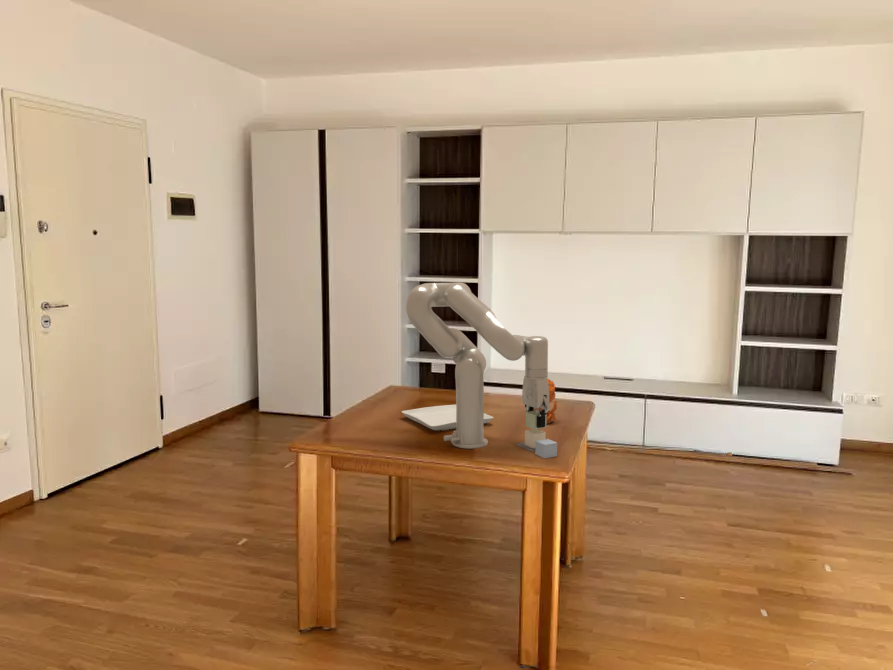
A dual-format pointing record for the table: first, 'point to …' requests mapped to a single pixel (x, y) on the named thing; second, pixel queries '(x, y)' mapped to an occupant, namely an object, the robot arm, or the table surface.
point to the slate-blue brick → (546, 448)
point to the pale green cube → (533, 419)
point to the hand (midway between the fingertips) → (536, 424)
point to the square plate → (437, 417)
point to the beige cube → (533, 437)
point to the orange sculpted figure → (551, 397)
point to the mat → (526, 446)
